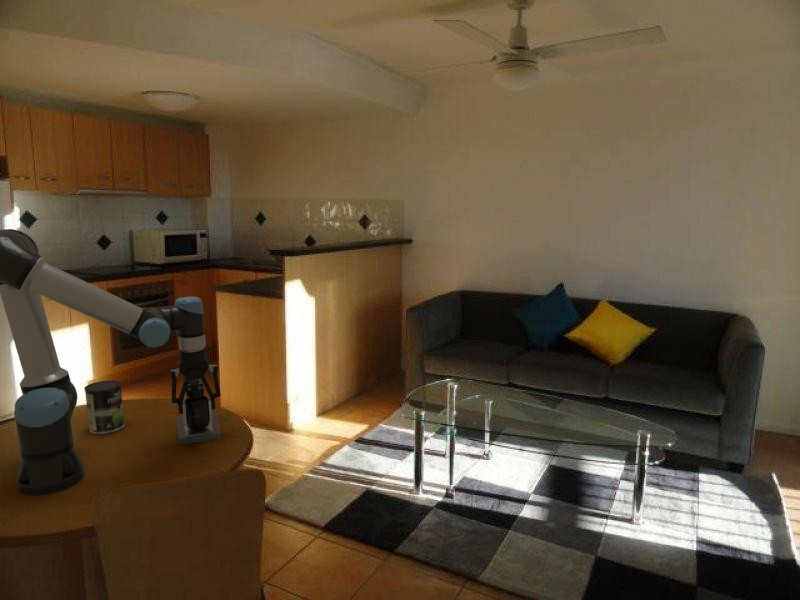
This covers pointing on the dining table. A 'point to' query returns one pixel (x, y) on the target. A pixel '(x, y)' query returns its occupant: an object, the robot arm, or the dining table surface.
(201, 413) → the supplement bottle
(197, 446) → the dining table surface
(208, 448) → the dining table surface
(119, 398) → the coffee can
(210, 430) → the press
